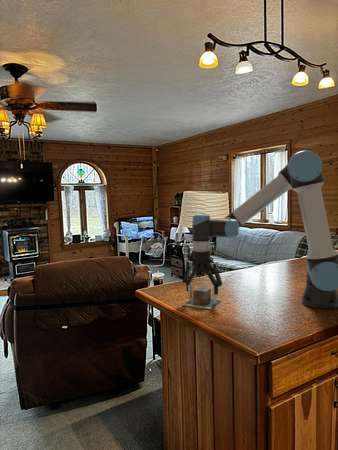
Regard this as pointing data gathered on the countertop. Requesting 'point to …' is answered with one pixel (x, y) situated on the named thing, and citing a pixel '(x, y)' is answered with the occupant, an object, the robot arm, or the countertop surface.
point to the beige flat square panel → (222, 309)
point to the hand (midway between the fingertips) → (202, 300)
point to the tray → (206, 307)
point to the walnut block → (201, 295)
